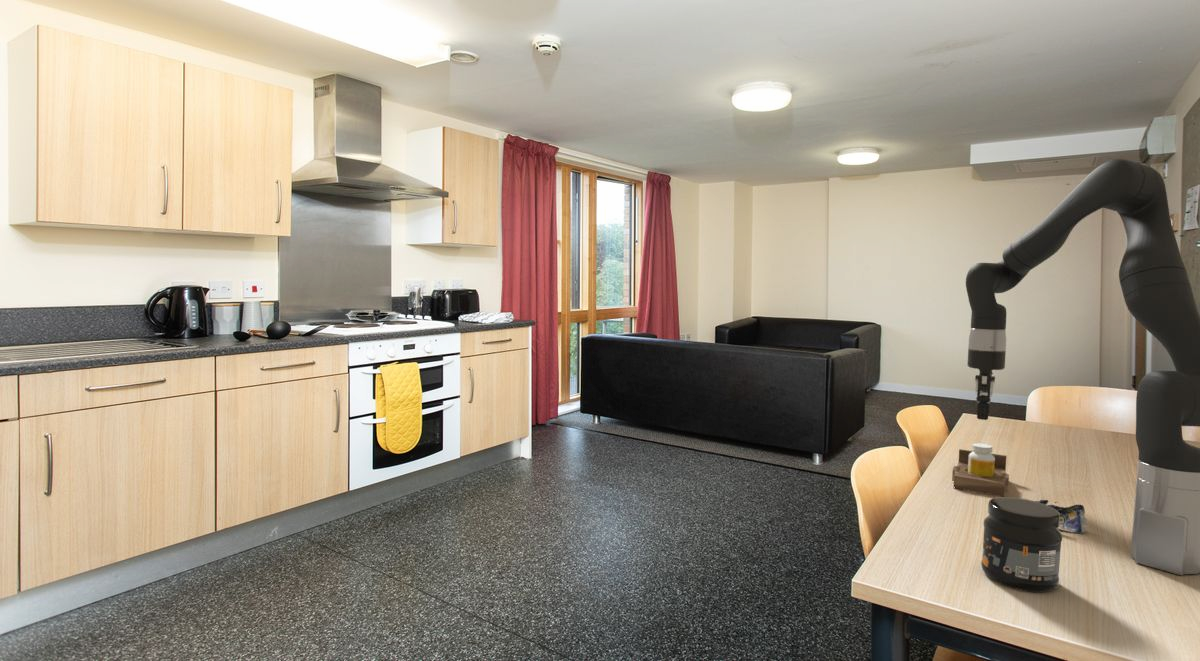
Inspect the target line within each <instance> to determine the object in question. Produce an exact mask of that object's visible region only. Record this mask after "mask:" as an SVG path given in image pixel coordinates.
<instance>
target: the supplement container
mask: <svg viewBox="0 0 1200 661" xmlns="http://www.w3.org/2000/svg"><path fill="white" fill-rule="evenodd" d="M1035 501H1036V500H1031V499H1026V498H1020V497H1019V498H1018V497H1012V496H1011V497H1009V496H1004V497H1003V496H998V497H994V498H991V499H989V501H988V502H987V504H988V506H987V513H988V515H987V516H986V517H985V518H984V520H983V527H984V528H983V542H982V555H981V556H982V557H981V561H980V562H981V565H980V566H981V568H982V571H983V572H984V574H985V575H987V576H988V577H989V578H990V579H991V580H993V581H995V582H996V583H998V584H1000V585H1002V586H1006V587H1008V588H1012V589H1015V590H1019V591H1024V592H1031V593H1032V592H1034V593H1043V592H1044V593H1045V592H1049V591H1052V590H1054V589H1056V588H1057V587H1058V585H1059V582H1060V577H1059V576H1060V575H1059V573H1060V564H1061V563H1060V562H1061V561H1060V560H1061V548H1062V541H1063V534H1062V531H1061V530H1059V527H1060V526H1059V521H1060V514H1059V512H1058V511H1057V510H1056V509H1054V508H1052V507H1050V506H1048V505H1049V504H1047V505H1045V504H1042V503H1039V502H1035Z"/></svg>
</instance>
